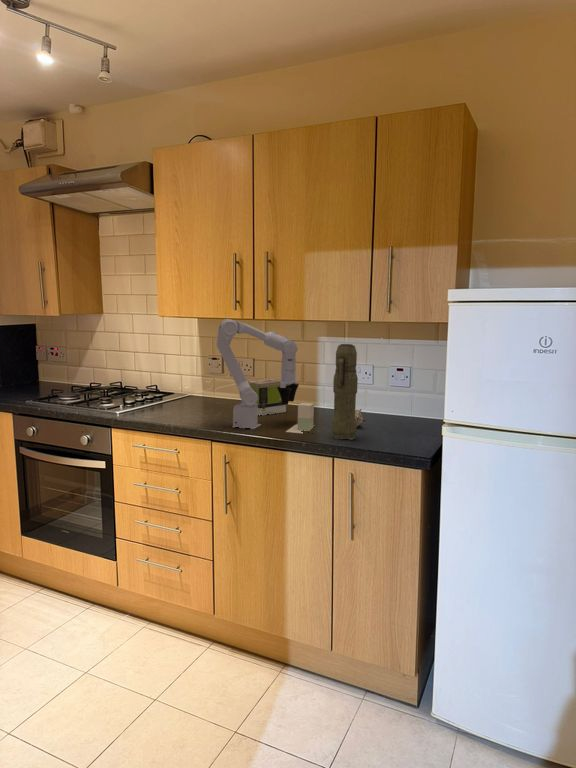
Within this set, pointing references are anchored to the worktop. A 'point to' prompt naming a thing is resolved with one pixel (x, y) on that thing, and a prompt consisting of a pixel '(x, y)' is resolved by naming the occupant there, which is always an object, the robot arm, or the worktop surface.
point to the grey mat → (294, 429)
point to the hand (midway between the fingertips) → (288, 402)
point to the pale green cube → (305, 424)
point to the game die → (358, 417)
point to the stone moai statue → (345, 392)
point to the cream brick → (305, 410)
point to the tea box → (268, 396)
